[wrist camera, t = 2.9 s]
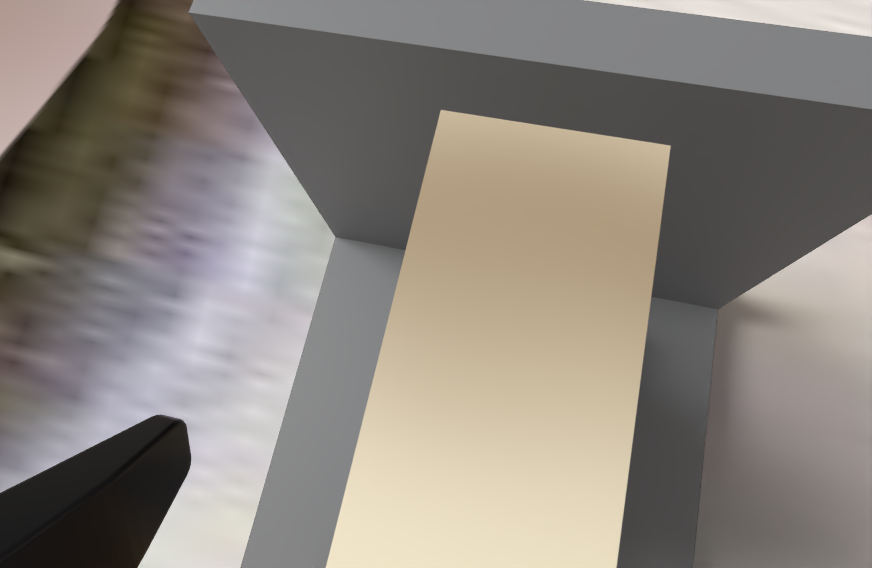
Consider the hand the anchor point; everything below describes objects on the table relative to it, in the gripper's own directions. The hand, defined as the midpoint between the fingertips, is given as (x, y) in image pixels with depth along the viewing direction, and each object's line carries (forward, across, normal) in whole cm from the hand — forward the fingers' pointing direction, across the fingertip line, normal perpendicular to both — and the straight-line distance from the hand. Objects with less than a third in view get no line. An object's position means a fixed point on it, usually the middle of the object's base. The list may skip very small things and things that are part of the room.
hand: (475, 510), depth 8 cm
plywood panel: (+7, 0, +5) cm, 9 cm away
